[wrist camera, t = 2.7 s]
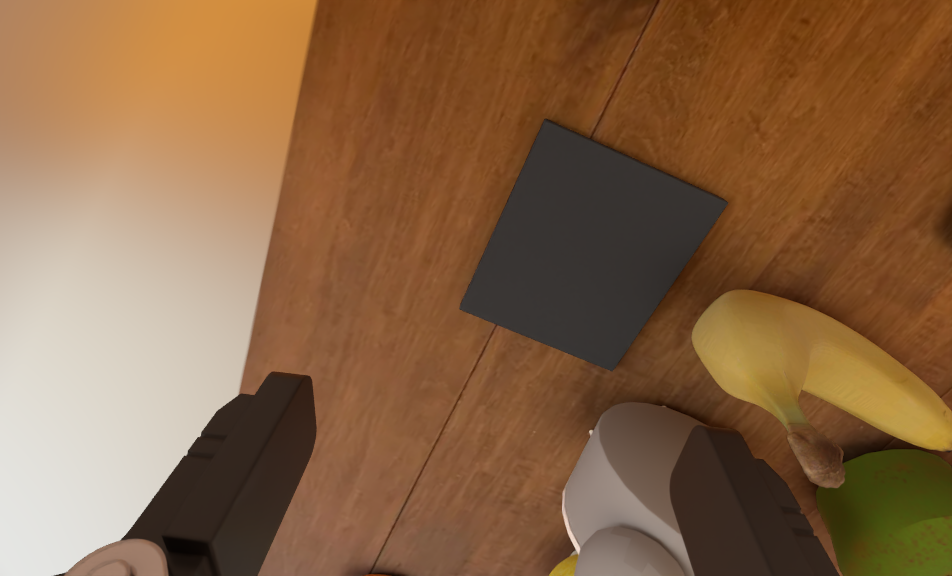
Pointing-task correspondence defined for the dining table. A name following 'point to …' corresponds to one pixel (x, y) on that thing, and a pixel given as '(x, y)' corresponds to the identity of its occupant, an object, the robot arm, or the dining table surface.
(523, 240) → the mat
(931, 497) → the apple
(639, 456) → the alarm clock
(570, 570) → the bowl
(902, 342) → the dining table surface
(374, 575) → the donut
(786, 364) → the banana
